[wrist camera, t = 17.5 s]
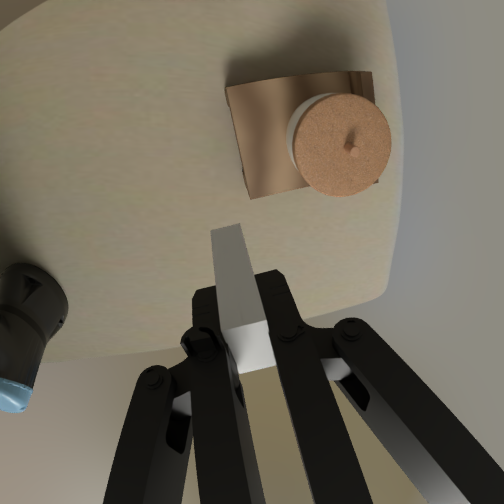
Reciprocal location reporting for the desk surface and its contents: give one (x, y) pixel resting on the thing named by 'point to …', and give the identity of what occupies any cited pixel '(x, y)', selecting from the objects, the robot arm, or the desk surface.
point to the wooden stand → (280, 123)
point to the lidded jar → (339, 143)
